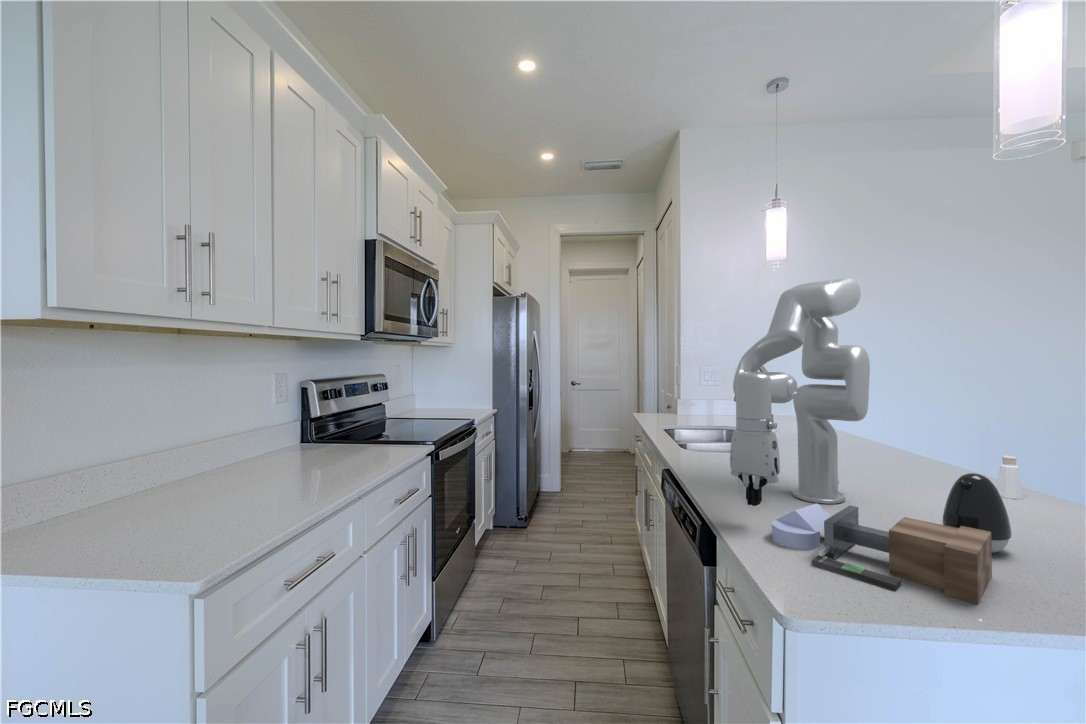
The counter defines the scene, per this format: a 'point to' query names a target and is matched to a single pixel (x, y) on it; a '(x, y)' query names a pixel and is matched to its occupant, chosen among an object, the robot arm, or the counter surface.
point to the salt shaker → (1009, 479)
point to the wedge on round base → (800, 528)
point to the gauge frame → (930, 559)
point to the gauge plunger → (850, 534)
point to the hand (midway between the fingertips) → (753, 504)
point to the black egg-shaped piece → (978, 508)
